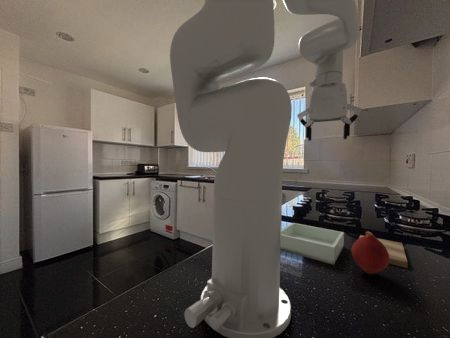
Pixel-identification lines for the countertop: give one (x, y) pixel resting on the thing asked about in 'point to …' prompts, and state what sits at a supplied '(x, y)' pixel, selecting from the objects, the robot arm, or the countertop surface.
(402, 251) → the board
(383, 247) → the onion
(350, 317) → the countertop surface
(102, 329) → the countertop surface
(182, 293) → the countertop surface
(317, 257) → the bin
